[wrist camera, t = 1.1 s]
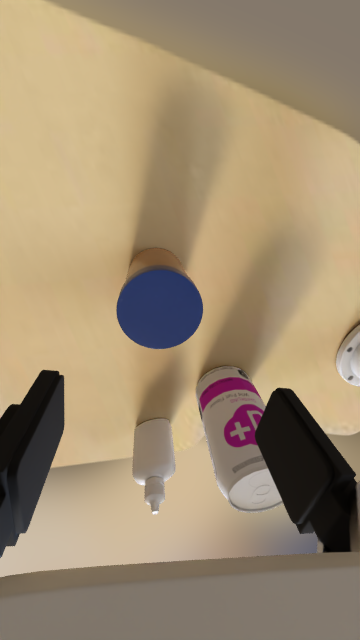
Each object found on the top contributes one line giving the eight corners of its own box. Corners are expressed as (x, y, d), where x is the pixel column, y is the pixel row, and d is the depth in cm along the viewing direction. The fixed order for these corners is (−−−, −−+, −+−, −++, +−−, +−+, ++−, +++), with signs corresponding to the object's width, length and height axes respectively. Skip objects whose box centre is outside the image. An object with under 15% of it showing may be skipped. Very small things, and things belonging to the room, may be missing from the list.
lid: (208, 272, 20) (212, 277, 19) (191, 343, 23) (194, 352, 21) (122, 258, 19) (120, 263, 17) (115, 335, 22) (113, 344, 20)
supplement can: (199, 361, 35) (232, 464, 21) (254, 364, 36) (318, 462, 23) (190, 405, 38) (213, 518, 25) (241, 406, 39) (289, 513, 26)
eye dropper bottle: (167, 437, 40) (174, 523, 30) (132, 435, 39) (127, 523, 29) (173, 418, 39) (183, 501, 28) (137, 414, 38) (133, 500, 27)
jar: (188, 253, 28) (208, 277, 19) (178, 305, 31) (191, 348, 22) (131, 243, 27) (123, 264, 18) (125, 298, 29) (116, 340, 21)
